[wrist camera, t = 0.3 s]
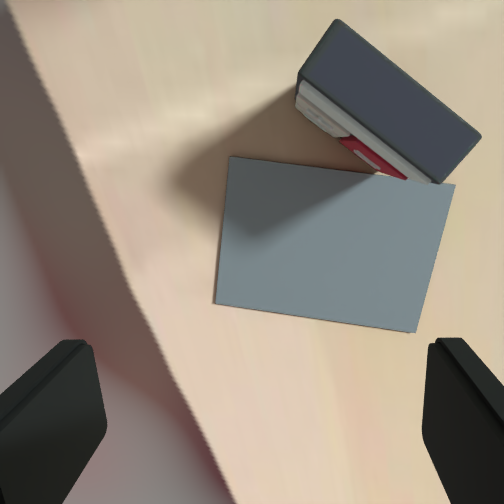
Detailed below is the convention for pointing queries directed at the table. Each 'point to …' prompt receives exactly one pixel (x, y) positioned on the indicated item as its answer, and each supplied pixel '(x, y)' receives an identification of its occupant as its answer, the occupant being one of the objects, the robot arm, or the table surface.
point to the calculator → (380, 110)
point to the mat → (329, 243)
